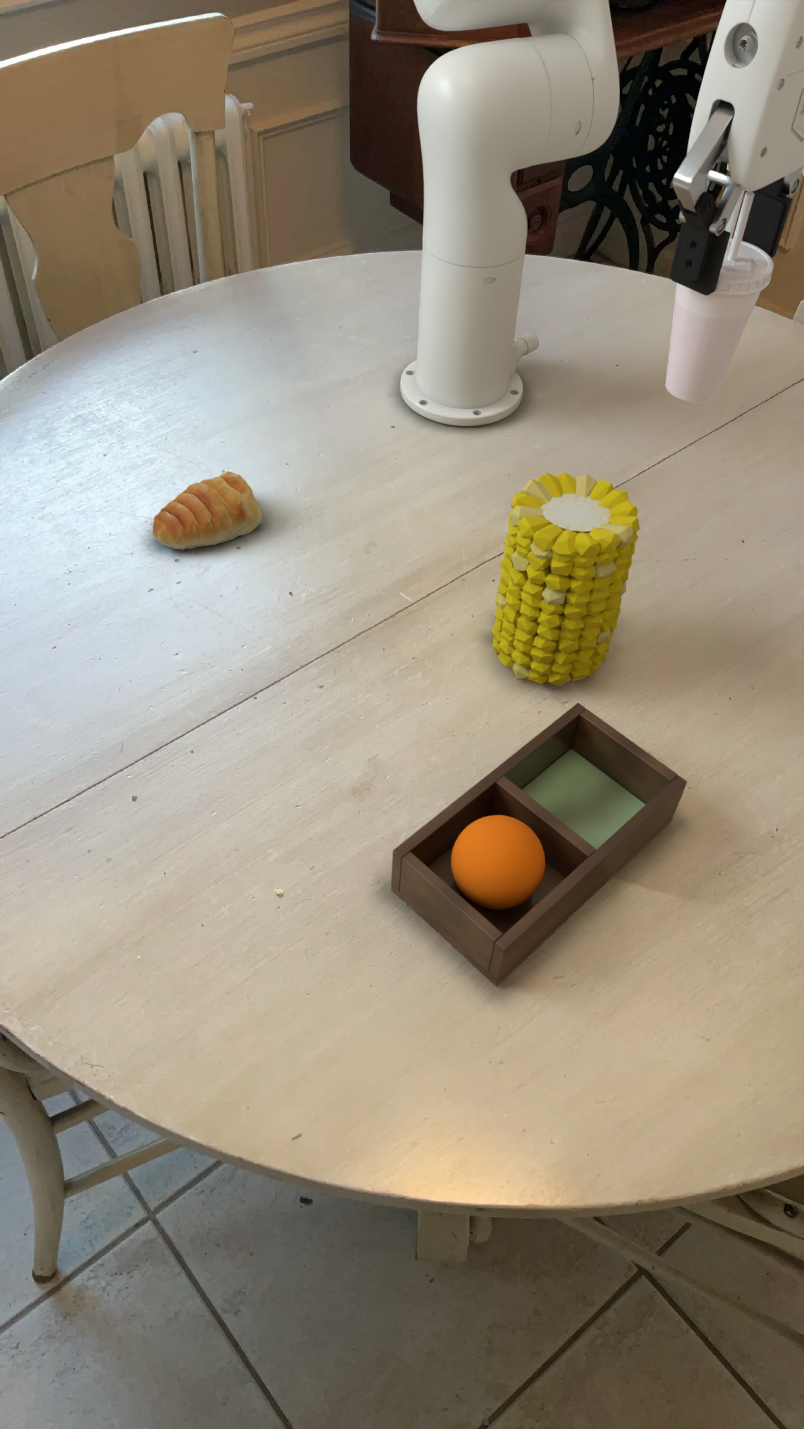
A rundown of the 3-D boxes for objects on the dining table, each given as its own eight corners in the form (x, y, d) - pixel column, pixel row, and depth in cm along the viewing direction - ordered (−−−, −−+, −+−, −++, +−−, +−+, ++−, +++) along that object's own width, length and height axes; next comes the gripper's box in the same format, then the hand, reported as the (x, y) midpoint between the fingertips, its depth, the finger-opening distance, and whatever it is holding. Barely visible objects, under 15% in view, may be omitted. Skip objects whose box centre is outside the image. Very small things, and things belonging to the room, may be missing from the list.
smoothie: (683, 421, 74) (738, 220, 63) (629, 376, 77) (671, 178, 67) (753, 399, 76) (817, 201, 65) (697, 356, 80) (749, 162, 69)
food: (483, 693, 84) (511, 614, 90) (632, 706, 80) (650, 622, 87) (457, 533, 74) (491, 457, 80) (627, 538, 70) (648, 458, 76)
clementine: (490, 833, 72) (499, 780, 68) (557, 888, 70) (571, 838, 65) (429, 884, 69) (434, 833, 65) (496, 944, 67) (506, 895, 62)
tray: (390, 889, 70) (392, 850, 66) (567, 744, 79) (578, 702, 75) (496, 987, 66) (504, 950, 62) (671, 822, 74) (688, 781, 71)
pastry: (178, 568, 90) (172, 533, 87) (138, 528, 93) (131, 493, 90) (270, 526, 94) (267, 491, 91) (228, 489, 97) (224, 454, 94)
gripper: (785, -8, 51) (695, 336, 64) (948, -68, 59) (838, 248, 73) (658, -44, 54) (597, 291, 68) (829, -96, 62) (745, 212, 76)
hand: (723, 266), depth 70 cm, fingers closed on smoothie, 6 cm apart
